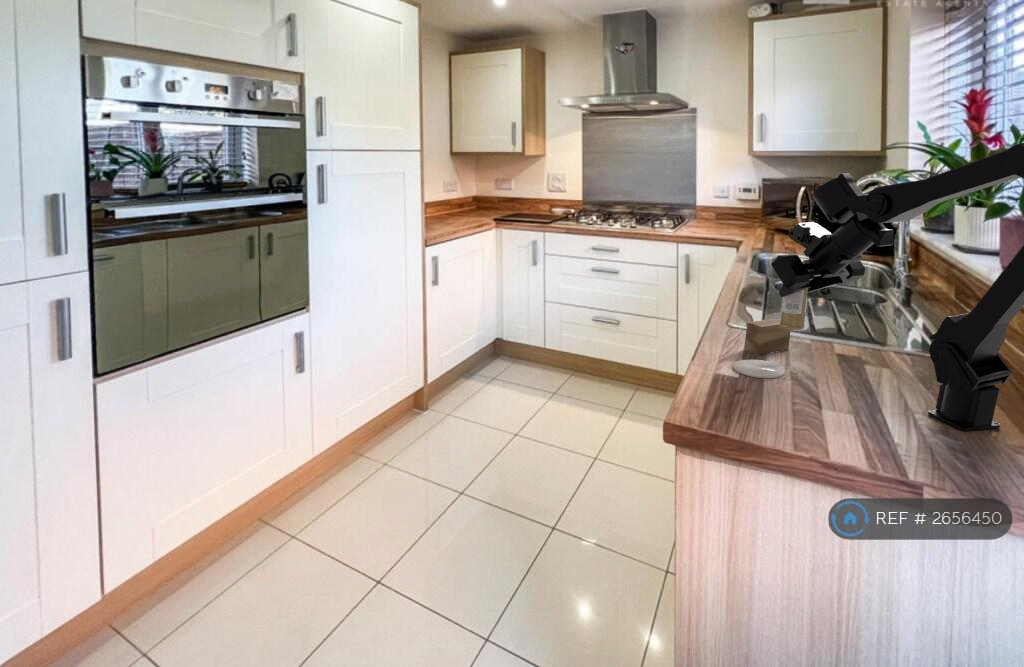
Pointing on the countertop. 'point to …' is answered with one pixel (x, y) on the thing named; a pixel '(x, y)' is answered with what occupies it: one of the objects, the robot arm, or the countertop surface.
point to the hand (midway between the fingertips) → (789, 293)
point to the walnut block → (766, 336)
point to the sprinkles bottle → (794, 310)
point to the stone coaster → (759, 368)
